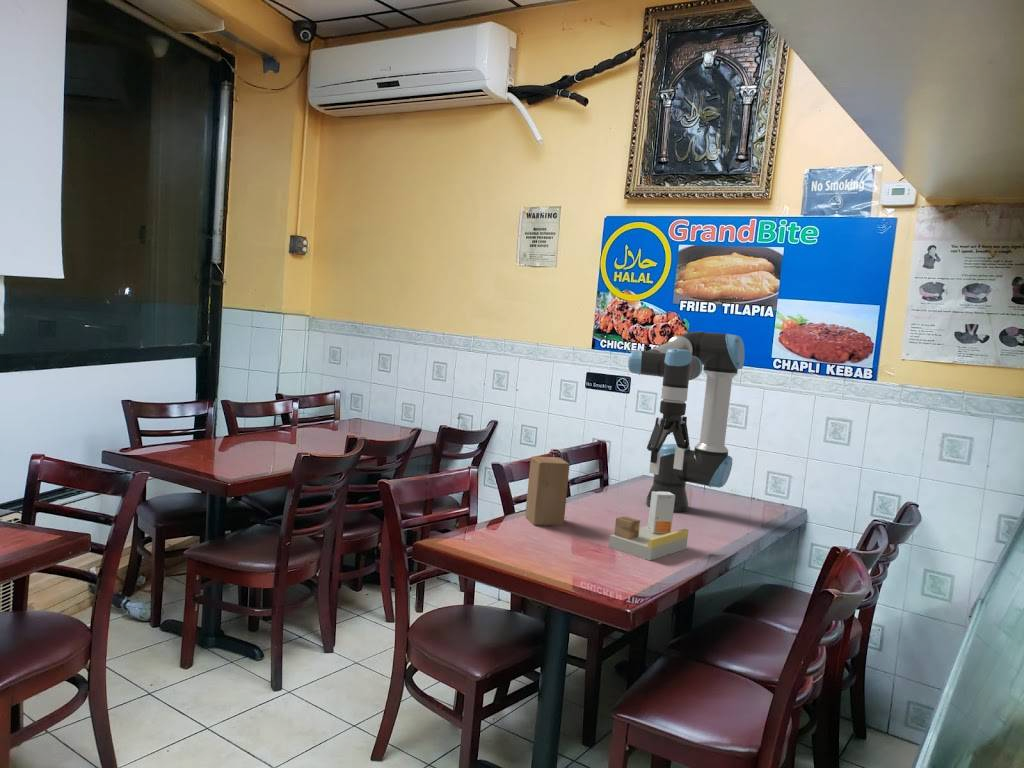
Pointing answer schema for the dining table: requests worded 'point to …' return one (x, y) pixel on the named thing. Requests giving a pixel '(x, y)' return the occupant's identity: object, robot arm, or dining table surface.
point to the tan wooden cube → (627, 527)
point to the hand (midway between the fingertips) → (666, 471)
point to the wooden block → (547, 491)
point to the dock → (651, 543)
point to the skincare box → (661, 512)
